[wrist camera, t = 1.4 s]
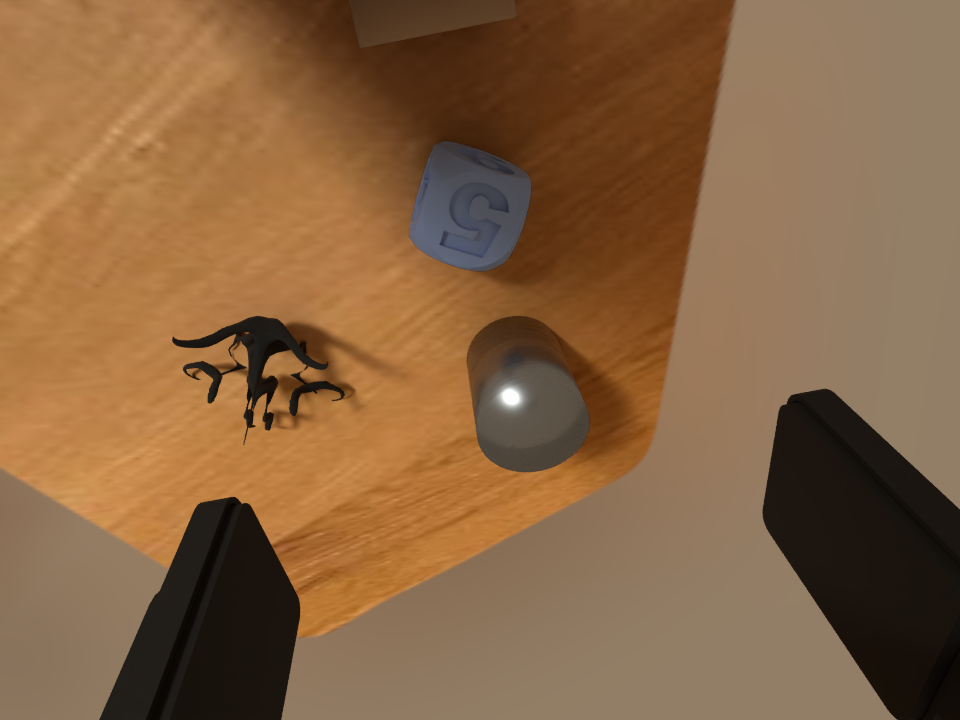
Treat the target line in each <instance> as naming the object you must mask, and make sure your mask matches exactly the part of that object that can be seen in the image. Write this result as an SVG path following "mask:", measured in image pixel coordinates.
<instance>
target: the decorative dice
mask: <svg viewBox="0 0 960 720" xmlns="http://www.w3.org/2000/svg"><path fill="white" fill-rule="evenodd" d="M530 196H531V181H530V178H529V176H528V174H527V173H526V172H525V171H523V170H522V169H521V168H519V167H517V166H516V165H514V164H512V163H510V162H508V161H506V160H504V159H502V158H500V157H497V156H495V155H492V154H490V153H487V152H485V151H482V150H479V149H476V148H473V147H470V146H467V145H463V144H459V143H455V142H449V141H442V142H439V143H438V144H436V145H434V147H433V149H432V151H431V153H430V156H429V159H428V161H427V164H426V167H425V170H424V174H423V177H422V180H421V184H420V187H419V191H418V194H417V198H416V202H415V206H414V210H413V215H412V219H411V224H410V231H409V237H410V238H411V240H412V242H413V243H414V245H415V246H416V247H417V248H418V249H420V250H421V251H422V252H424V253H425V254H427V255H429V256H430V257H432V258H434V259H436V260H439V261H441V262H443V263H446V264H448V265H451V266H454V267H458V268H461V269H466V270H472V271H488V270H491V269H493V268H496V267H498V266H499V265H501V264H503V263H504V262H505V261H506V260H507V259H508V258H509V256H510V255H511V253H512V251H513V250H514V248H515V246H516V243H517V241H518V239H519V236H520V234H521V231H522V228H523V226H524V222H525V219H526V215H527V212H528V207H529V202H530Z"/></svg>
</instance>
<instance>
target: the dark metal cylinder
mask: <svg viewBox="0 0 960 720" xmlns="http://www.w3.org/2000/svg"><path fill="white" fill-rule="evenodd" d="M467 368H468V375H469V382H470V389H471V397H472V404H473V411H474V418H475V425H476V432H477V439H478V443H479V446H480V448H481V450H482V452H483V453H484V454H485V456H486V457H487V458H488V459H489V460H491V461H492V462H493V463H495V464H496V465H498V466H500V467H502V468H505V469H508V470H511V471H517V472H536V471H542V470H546V469H549V468H552V467H554V466H557V465H559V464H561V463H562V462H564V461H566V460H567V459H568V458H570V457H571V456H572V455H573V454H574V453H576V452H577V450H578V449H579V448H580V447H581V445H582V444H583V442H584V441H585V439H586V436H587V434H588V430H589V424H590V419H589V413H588V410H587V407H586V405H585V402H584V400H583V398H582V395H581V393H580V391H579V388H578V386H577V383H576V381H575V379H574V376H573V374H572V372H571V369H570V367H569V365H568V362H567V360H566V358H565V355H564V353H563V350H562V348H561V346H560V343H559V341H558V339H557V337H556V335H555V334H554V332H553V331H552V330H551V329H550V328H549V327H548V326H547V325H545V324H544V323H542V322H540V321H538V320H536V319H533V318H529V317H522V316H513V317H506V318H502V319H499V320H497V321H494V322H492V323H490V324H489V325H487V326H486V327H484V328H483V329H482V330H481V331H480V332H479V333H478V334H477V335H476V336H475V338H474V339H473V340H472V342H471V344H470V346H469V349H468V353H467Z"/></svg>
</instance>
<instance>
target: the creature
mask: <svg viewBox="0 0 960 720" xmlns="http://www.w3.org/2000/svg"><path fill="white" fill-rule="evenodd" d="M242 332H249V334H247V335H245V336H242ZM234 334H236V337H235V340H234V343H233V344H232V345H231V346H230V347H229V349H228V350H229V353H230V349H231V348H232V347H233V346H234V345H235V344H236V342H237V341H239V340H240V341H241V342H242V344H243V345H244V346H245V347H246V348H247V352H248V360H249V375H248V376H247V383H248V392H247V400H248V403H247V407H246V411H245V413H244V419H246V423H247V430H246V435H247V431H248V427H249V428H252V427H255V425H252V424H253V415H254V412H253V411H252V408H253V410H254V407H255V405H256V402H257V400H258V399H259V398H260V397H261V396H262V395H264V394H266V393H267V401H266V409H265V413H264V415H263V422H266V423H265V430H270V429H271V425H272V422H273V418H274V414H273V413H271V412H269V413H267V407H268V404H269V403H270V402H271V399H272V397H273V395H274V392H275V390H276V387H277V385H278V381H277V379H276V378H275V377H274V376H269V377H268V378H266V379H265V378H262V373H263V370H264V366H265V363H266V362H267V360H268V358H269V357H270V356H271V355H273V354H276V353H278V352H283V351H287V350H292V351H293V353H294V354H295V355H296V357H297V358H298V359H299V360H300V361H301V362H302V363H304V364H306V365H307V366H306V368H307V367H308V366H309V367H312V368H315V369H320V370H323V369H326V368H327V366H328V362H327V364H320V363H318V362H316V361H314V360H312V359H311V358H310V357H308V356H307V355H306V342H301V343H300V344H298V343H297V341H296V340H295V339H294V338H293V336H292V335H291V334H290V333H289V331H288V330H287V328H286V327H285V326H284V324H283V323H282V322H280V321H279V320H278V319H274V318H266V317H262V316H255V317H251V318H247V319H245V320H243V321H241V322H239V323H236V324H233V325H230V326H227V327H225V328H222V329H220V330H219V331H217V332H215V333H214V334H212V335H209V336H206V337H203V338H201V339H196V340H177V339H175V338H174V336H173V339H172V341H173V343H174V344H175V345H177V346H179V347H185V348H204V347H209V346H212V345H214V344H217V343H219V342H220V341H222V340H224V339H226V338H228V337H229V336H232V335H234ZM302 348H303V350H302ZM230 356H231V357H232V355H231V353H230ZM236 363H237V367H235V368H234V369H231V370H229V371H226V372H223V373H220V372H219V371H218V370H217V369H216V368H215V367H213V366H212V365H210V364H208V363H206V362H204V361H201V362H195V363H190V364H187V365H185V366H184V367H183V371H184V372H185V373H186V374H187V375H188V376H190V377H192V378H194V379H197V380H201V379H198V378H195V377H193V376H191V375H190V374H188V373H187V371H186V369H191V368H199V369H201V370H202V371H204V372H205V373H206V374H207V375H209V376H210V377H211V378H213V382H212V384H211V387H210V388H209V393H208V403H212V402H213V401H214V399H215V397H216V395H217V392H218V388H219V385H220V383H221V379H222V375H224V374H226V373H228V372H232V371H235V370H239V369H245V368H246V367H245V366H242V365H240V364H239V363H238V362H237V361H236ZM306 368H305V369H306ZM305 369H304V370H305ZM301 372H302V371H301ZM299 375H300V372H299V373H296V374H291V376H293V377H295V378H296V379H298V380H299V381H301V382H302V383H304V384H305V385H302V386H300V387H298V388H295V389H294V391H293V393H292V396H291V400H290V407H289V410H290V413H291V415H292V416H295V415H296V413H297V409H298V400H299V397H300V395H301V394H302V393H308V392H312V391H313V392H315V393H316V394H317V392H316V390H319V389H329V390H334V391H337V392H339V393H340V394H341V398H339V399H337V400H340V399H342V398H343V397H344V396H345V394H344V391H343V390H341V389H340V388H338V387H336V386H334V385H332V384H330V383H329V382H327V381H319V382H312V383H308V384H307V383H305V382H304V381H303V380H302V379H301V378H300V377H299ZM251 397H252V405H251V409H248V405H249V402H250V399H251ZM337 400H332V401H337ZM253 405H254V406H253ZM246 435H245V439H246ZM245 439H244V443H245ZM243 445H244V444H243Z"/></svg>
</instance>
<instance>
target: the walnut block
mask: <svg viewBox="0 0 960 720" xmlns="http://www.w3.org/2000/svg"><path fill="white" fill-rule="evenodd" d="M348 2H349V6H350V10H351V14H352V18H353V22H354V27H355V31H356V35H357V39H358V43H359V47H360V48H365V47H370V46H375V45H380V44H385V43H390V42H395V41H400V40H405V39H410V38H415V37H420V36H425V35H430V34H435V33H440V32H445V31H450V30H455V29H460V28H465V27H471V26H476V25H481V24H486V23H491V22H496V21H501V20H506V19H511V18H516V17H517V16H516V7H515V0H348Z"/></svg>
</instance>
